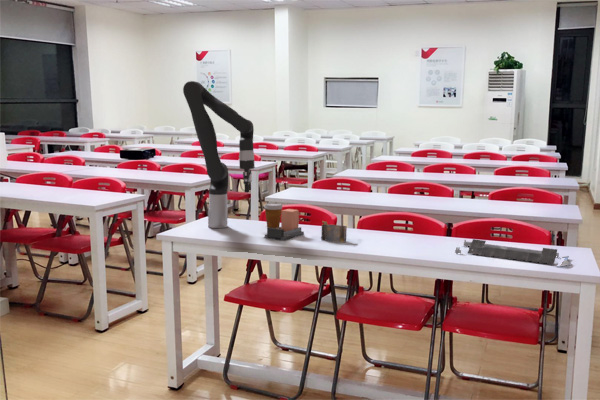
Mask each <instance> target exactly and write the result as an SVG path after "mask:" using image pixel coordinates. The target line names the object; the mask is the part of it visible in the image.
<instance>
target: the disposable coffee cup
mask: <svg viewBox="0 0 600 400" xmlns="http://www.w3.org/2000/svg"><path fill="white" fill-rule="evenodd" d="M263 207H264V210H265V220H266V221H265V222H266V228H269V227H271V228H280V226H281V225H280V224H281V211H282V210H283V204H282V203H279V202H267V203H264V206H263Z"/></svg>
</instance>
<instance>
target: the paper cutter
mask: <svg viewBox="0 0 600 400" xmlns="http://www.w3.org/2000/svg"><path fill="white" fill-rule="evenodd" d="M486 241H487V240H484V239H483V240H481V239H473V238H472V241H467V239H464V242H463V247H464V246H470V247H468V250H467V254H470V255H476V254H479V255H478V256H484V255H485V257H491V256H494V257H493V258H498V257H501V258H500V259H506V258H510V259H509V260H513V259H517V260H516V261H520V260H525V261H524V262H528V261H532V262H531V263H535V262H539V263H538V264H543V263H547V264H546V265H550V264H554V265H555V262H556V256H557V257H559V258H560V254H559V252H558V249H557V248H556V249H554V248H548V247H547V248H546V247H542V250H537V249H530V248H529V249H528V248H522V247H521V248H520V247H512V246H508V245H507V246H506V245H497V244H489V243H486ZM455 253H461V254H462V250H460V246H459V247H456V248H455V249H454V254H455ZM561 257H562V258H565V259H564V261H563V262H562V264H561V265H560V266H559V267H563V266H568V265H570V261H569V260H568V259H569V258H570V256H569V255H566V256H561Z"/></svg>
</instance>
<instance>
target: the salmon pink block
mask: <svg viewBox="0 0 600 400" xmlns="http://www.w3.org/2000/svg"><path fill="white" fill-rule="evenodd" d="M299 212H300V211H299V209H293V208H287V209H282V210H281V217H280V224H281V225H280V227H281V229H284V231H288V230H292V229H295V228H299V226H300V225H299V222H300V220H299V217H300V216H299V215H300V213H299Z"/></svg>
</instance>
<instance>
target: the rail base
mask: <svg viewBox="0 0 600 400" xmlns="http://www.w3.org/2000/svg"><path fill="white" fill-rule="evenodd" d="M303 235H305V231H303V230H302V226H298V228H295V229H292V230H288V231H284V229H281V226H279V228H271V227H269V228H268V227H266V234H264V239H269V240H276V241H283V242H284V241H288V240H291V239H294V238H297V237H301V236H303Z"/></svg>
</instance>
